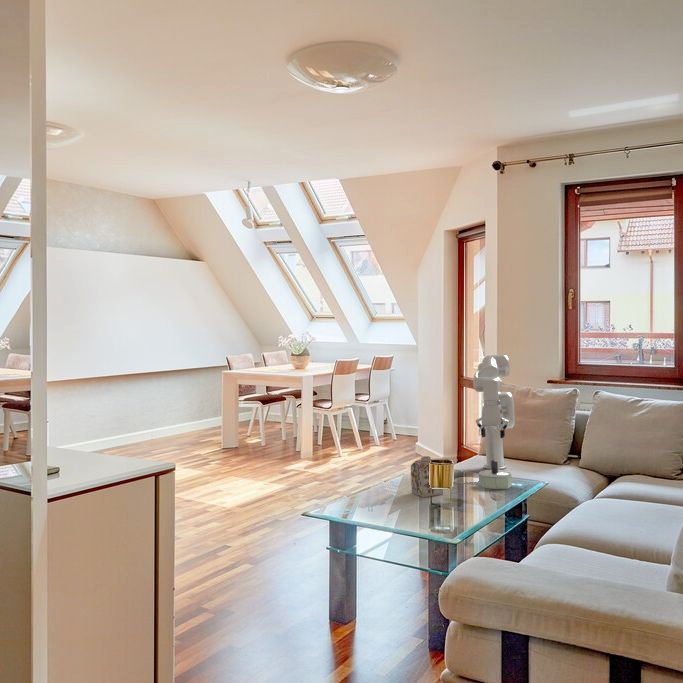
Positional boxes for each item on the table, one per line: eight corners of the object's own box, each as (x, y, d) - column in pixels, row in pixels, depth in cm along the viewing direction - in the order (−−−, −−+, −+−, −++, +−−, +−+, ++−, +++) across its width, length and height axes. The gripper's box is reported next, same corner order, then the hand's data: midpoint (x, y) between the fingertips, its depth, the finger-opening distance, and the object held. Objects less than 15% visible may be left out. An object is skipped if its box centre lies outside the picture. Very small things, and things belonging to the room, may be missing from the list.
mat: (459, 476, 364) (459, 475, 364) (489, 479, 355) (489, 477, 355) (446, 483, 350) (446, 482, 350) (477, 486, 340) (477, 484, 340)
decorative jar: (432, 489, 337) (430, 453, 337) (444, 494, 327) (442, 457, 326) (410, 493, 333) (409, 456, 333) (422, 497, 322) (420, 460, 322)
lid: (485, 470, 349) (485, 457, 349) (515, 472, 340) (514, 458, 340) (474, 476, 336) (473, 462, 335) (504, 478, 327) (504, 464, 327)
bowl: (486, 482, 348) (486, 470, 348) (514, 484, 340) (514, 472, 340) (475, 488, 336) (475, 476, 336) (504, 490, 328) (504, 478, 328)
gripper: (510, 402, 337) (512, 436, 337) (477, 402, 346) (479, 435, 346) (505, 404, 330) (507, 439, 331) (472, 403, 340) (473, 437, 340)
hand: (492, 437), depth 338 cm, fingers open, 9 cm apart
